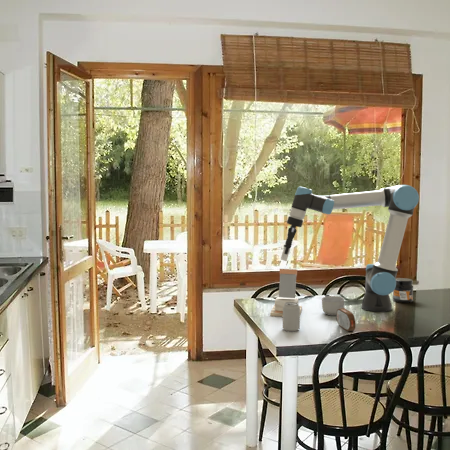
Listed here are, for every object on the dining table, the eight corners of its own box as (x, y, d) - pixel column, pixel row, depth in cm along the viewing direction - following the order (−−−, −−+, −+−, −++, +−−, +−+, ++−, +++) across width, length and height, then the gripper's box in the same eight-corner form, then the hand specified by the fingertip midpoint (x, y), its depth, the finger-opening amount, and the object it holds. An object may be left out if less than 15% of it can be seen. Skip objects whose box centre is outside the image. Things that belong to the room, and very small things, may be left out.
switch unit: (274, 307, 285) (274, 294, 284) (301, 308, 282) (302, 296, 282) (270, 315, 267) (270, 302, 267) (299, 317, 265) (299, 304, 264)
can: (281, 327, 246) (281, 301, 245) (297, 327, 247) (298, 301, 246) (284, 332, 239) (284, 305, 238) (301, 332, 240) (301, 304, 239)
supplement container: (403, 304, 295) (404, 282, 294) (388, 300, 304) (389, 278, 303) (417, 302, 300) (417, 280, 299) (401, 298, 309) (402, 277, 308)
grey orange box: (278, 297, 277) (280, 270, 281) (295, 298, 275) (297, 270, 280) (278, 296, 274) (279, 268, 279) (295, 297, 272) (296, 269, 277)
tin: (356, 333, 239) (356, 314, 238) (349, 333, 238) (349, 314, 237) (341, 324, 254) (342, 306, 253) (335, 324, 253) (335, 306, 252)
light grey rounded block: (343, 317, 266) (344, 301, 265) (320, 316, 268) (321, 299, 267) (343, 310, 279) (343, 295, 279) (321, 309, 281) (322, 293, 281)
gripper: (288, 214, 284) (277, 253, 286) (288, 216, 260) (276, 259, 261) (302, 218, 284) (291, 258, 286) (304, 221, 259) (291, 264, 261)
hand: (283, 258), depth 274 cm, fingers open, 13 cm apart
